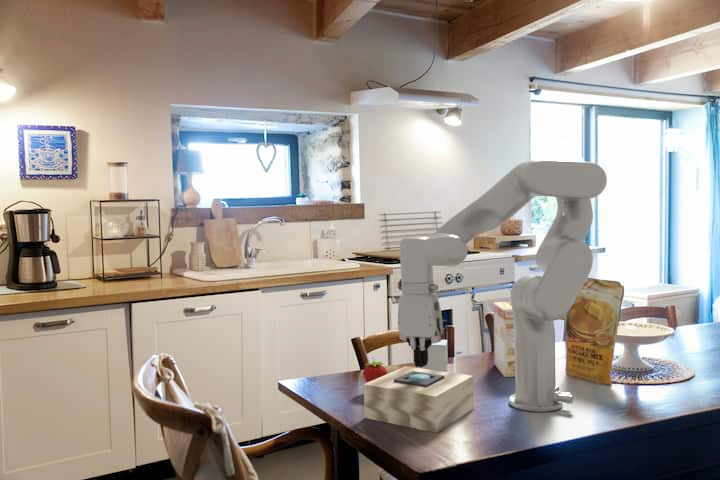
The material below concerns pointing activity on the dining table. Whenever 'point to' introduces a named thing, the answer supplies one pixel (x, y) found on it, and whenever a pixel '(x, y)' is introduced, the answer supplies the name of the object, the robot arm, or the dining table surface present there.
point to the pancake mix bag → (593, 330)
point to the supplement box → (437, 357)
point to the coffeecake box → (504, 338)
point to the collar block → (419, 398)
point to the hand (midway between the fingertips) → (421, 365)
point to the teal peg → (419, 377)
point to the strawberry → (374, 371)
